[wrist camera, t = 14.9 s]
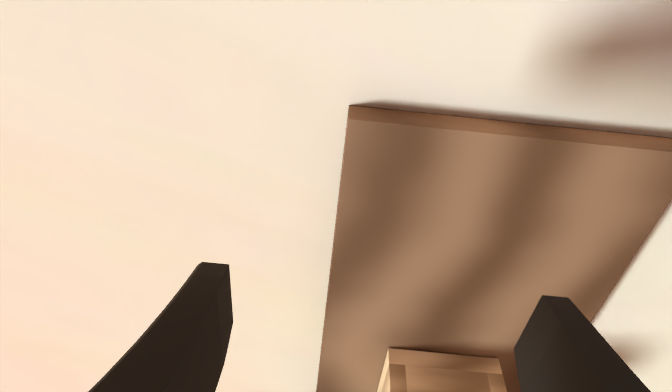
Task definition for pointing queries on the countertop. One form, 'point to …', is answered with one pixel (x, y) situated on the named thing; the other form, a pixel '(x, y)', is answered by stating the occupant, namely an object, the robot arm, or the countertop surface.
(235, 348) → the countertop surface
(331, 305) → the backstop board
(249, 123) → the countertop surface
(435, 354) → the hollow square maple frame
